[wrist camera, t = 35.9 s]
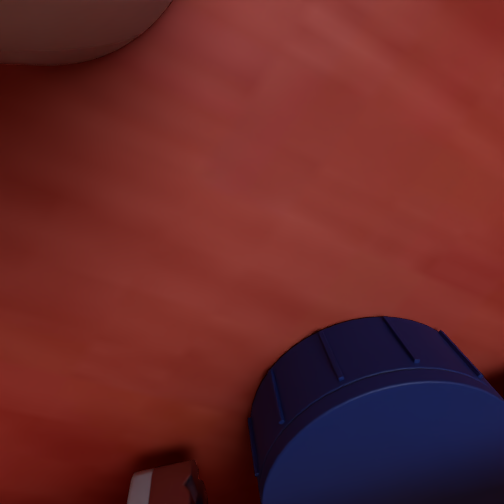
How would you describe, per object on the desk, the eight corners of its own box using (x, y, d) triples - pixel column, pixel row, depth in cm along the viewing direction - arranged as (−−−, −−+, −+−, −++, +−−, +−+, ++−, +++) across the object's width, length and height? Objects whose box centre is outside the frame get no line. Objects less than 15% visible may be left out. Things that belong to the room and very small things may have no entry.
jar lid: (299, 290, 9) (327, 353, 7) (510, 345, 11) (584, 411, 9) (221, 473, 11) (225, 563, 9) (406, 500, 13) (445, 585, 11)
